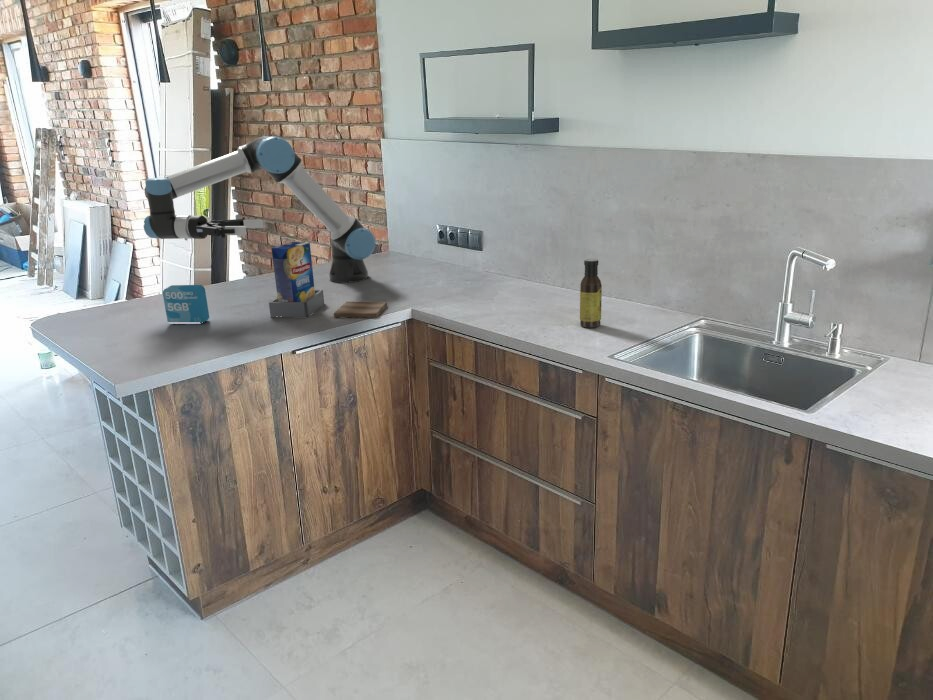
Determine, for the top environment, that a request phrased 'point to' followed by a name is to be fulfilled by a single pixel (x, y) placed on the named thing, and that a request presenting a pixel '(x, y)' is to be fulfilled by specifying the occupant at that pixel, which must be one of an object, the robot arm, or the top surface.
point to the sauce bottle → (590, 295)
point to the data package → (186, 303)
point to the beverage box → (293, 272)
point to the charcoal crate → (296, 306)
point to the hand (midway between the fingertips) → (254, 227)
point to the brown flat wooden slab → (360, 309)
